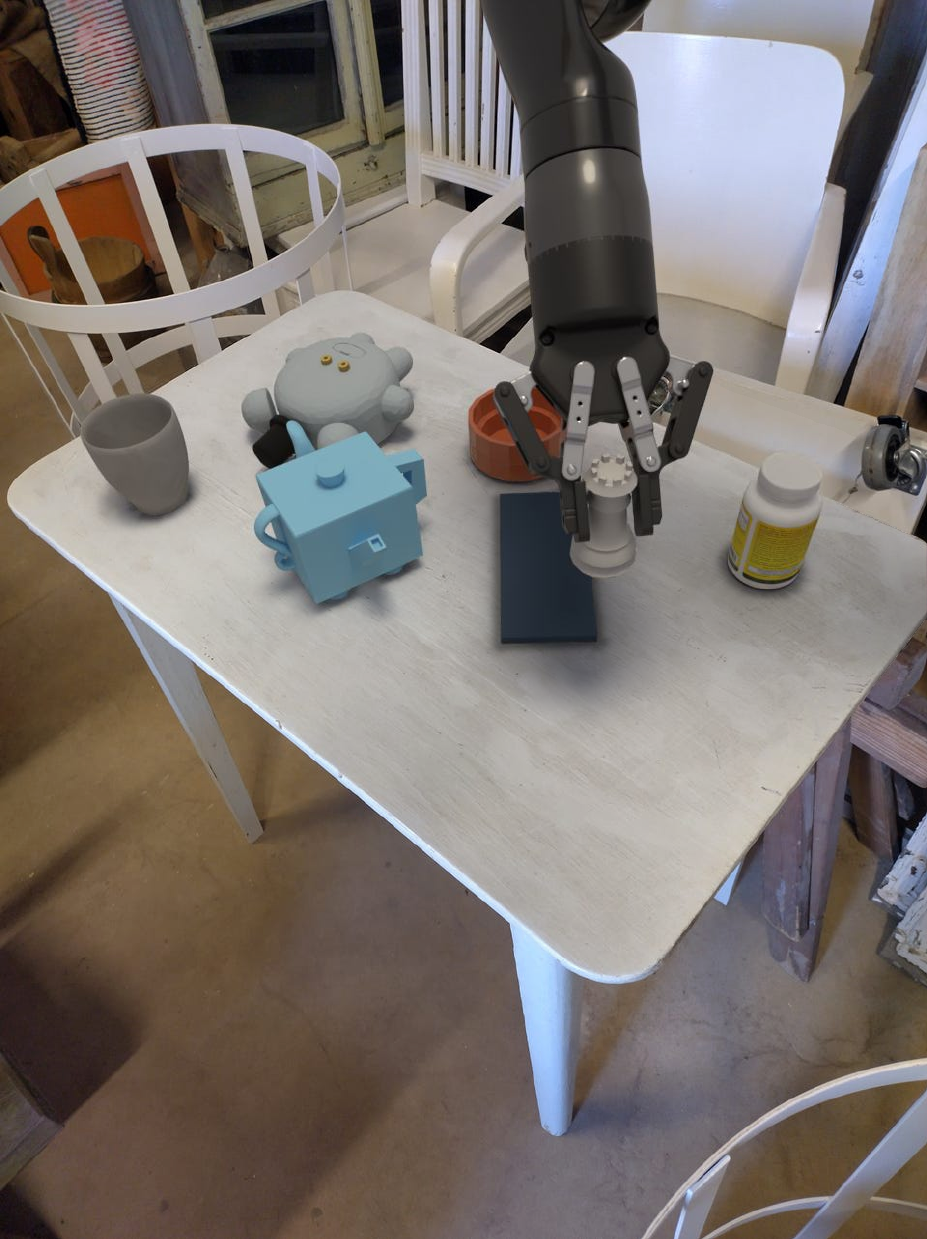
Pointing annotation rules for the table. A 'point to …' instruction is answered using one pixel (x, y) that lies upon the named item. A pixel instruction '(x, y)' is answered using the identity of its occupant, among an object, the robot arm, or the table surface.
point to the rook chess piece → (607, 520)
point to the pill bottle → (776, 521)
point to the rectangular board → (541, 574)
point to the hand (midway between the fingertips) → (613, 537)
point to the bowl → (508, 437)
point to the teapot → (342, 512)
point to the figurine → (331, 396)
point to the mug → (140, 451)
